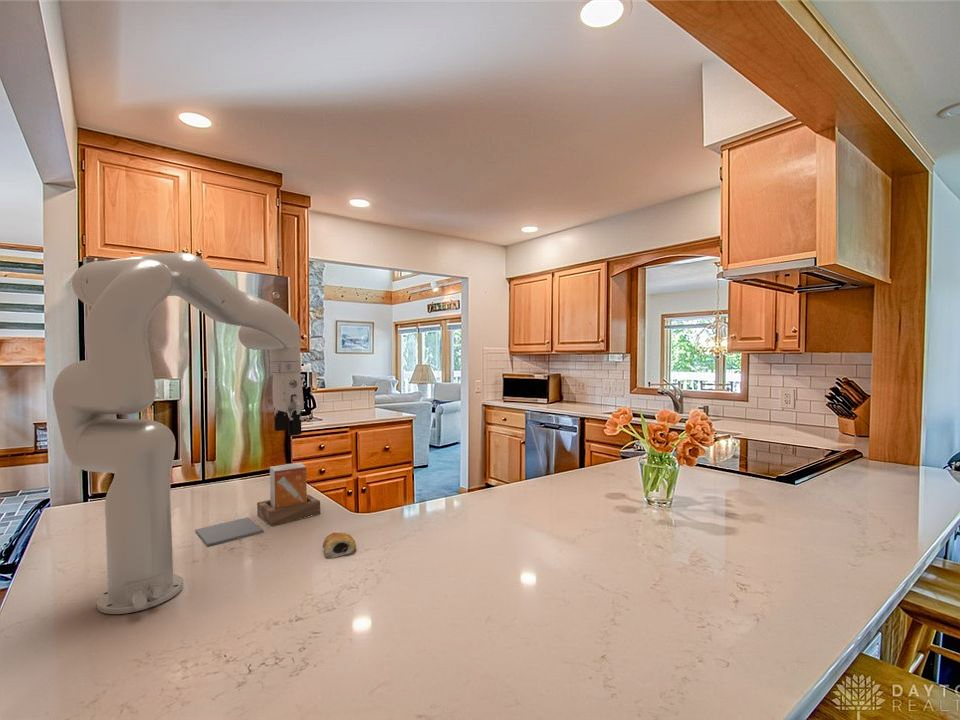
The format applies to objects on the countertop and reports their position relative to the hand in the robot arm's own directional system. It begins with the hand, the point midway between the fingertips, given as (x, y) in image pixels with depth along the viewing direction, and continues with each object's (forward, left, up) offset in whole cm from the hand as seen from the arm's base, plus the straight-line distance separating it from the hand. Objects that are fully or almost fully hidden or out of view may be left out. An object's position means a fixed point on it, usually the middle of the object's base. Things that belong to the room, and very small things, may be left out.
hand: (287, 432), depth 127 cm
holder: (0, 0, -22) cm, 22 cm away
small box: (0, 0, -22) cm, 22 cm away
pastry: (-30, +1, -22) cm, 38 cm away
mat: (-2, +15, -22) cm, 27 cm away
